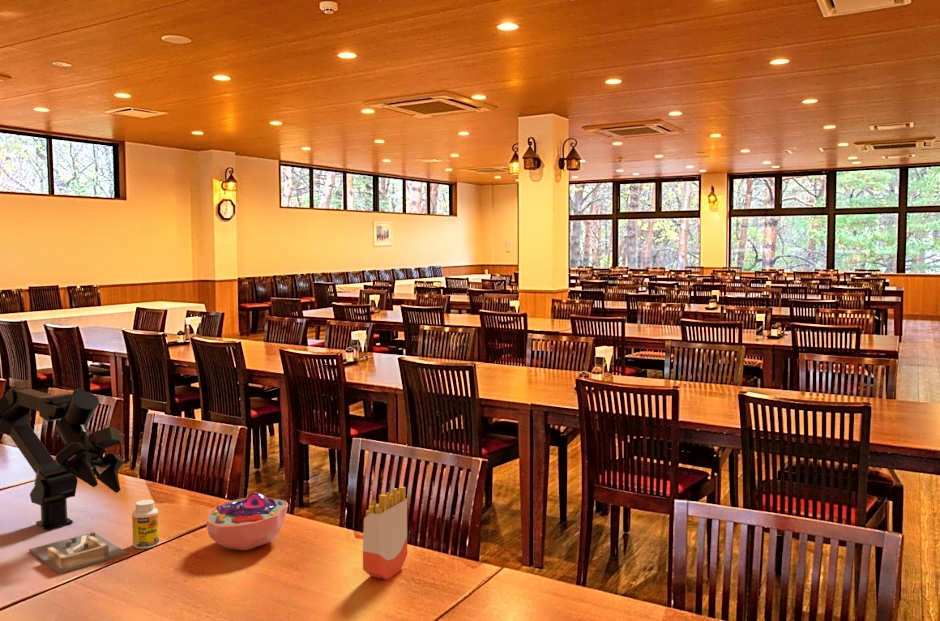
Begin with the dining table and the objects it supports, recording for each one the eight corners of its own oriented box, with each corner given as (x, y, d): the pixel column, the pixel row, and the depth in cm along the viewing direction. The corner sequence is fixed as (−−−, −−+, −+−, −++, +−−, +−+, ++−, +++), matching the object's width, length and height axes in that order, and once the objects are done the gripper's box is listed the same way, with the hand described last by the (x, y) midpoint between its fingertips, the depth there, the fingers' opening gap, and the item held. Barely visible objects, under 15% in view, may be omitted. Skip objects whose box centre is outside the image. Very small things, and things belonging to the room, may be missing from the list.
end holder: (48, 559, 170) (47, 548, 170) (92, 546, 177) (92, 535, 177) (63, 570, 164) (62, 558, 164) (108, 556, 171) (108, 545, 171)
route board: (29, 551, 176) (29, 544, 175) (93, 534, 186) (92, 527, 186) (59, 574, 164) (59, 566, 164) (125, 554, 174) (125, 547, 174)
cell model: (187, 553, 175) (186, 504, 174) (251, 524, 193) (250, 480, 192) (244, 567, 167) (243, 516, 166) (305, 536, 185) (304, 490, 184)
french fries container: (361, 580, 161) (360, 495, 159) (389, 561, 171) (389, 481, 169) (380, 585, 159) (379, 499, 157) (407, 565, 168) (407, 484, 167)
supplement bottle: (135, 551, 176) (134, 507, 175) (131, 543, 180) (129, 500, 179) (161, 546, 179) (160, 503, 178) (156, 538, 183) (155, 496, 182)
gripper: (82, 406, 177) (113, 458, 171) (126, 424, 194) (156, 472, 188) (40, 437, 175) (71, 491, 170) (89, 453, 192) (118, 502, 187)
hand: (107, 488), depth 179 cm, fingers open, 9 cm apart
